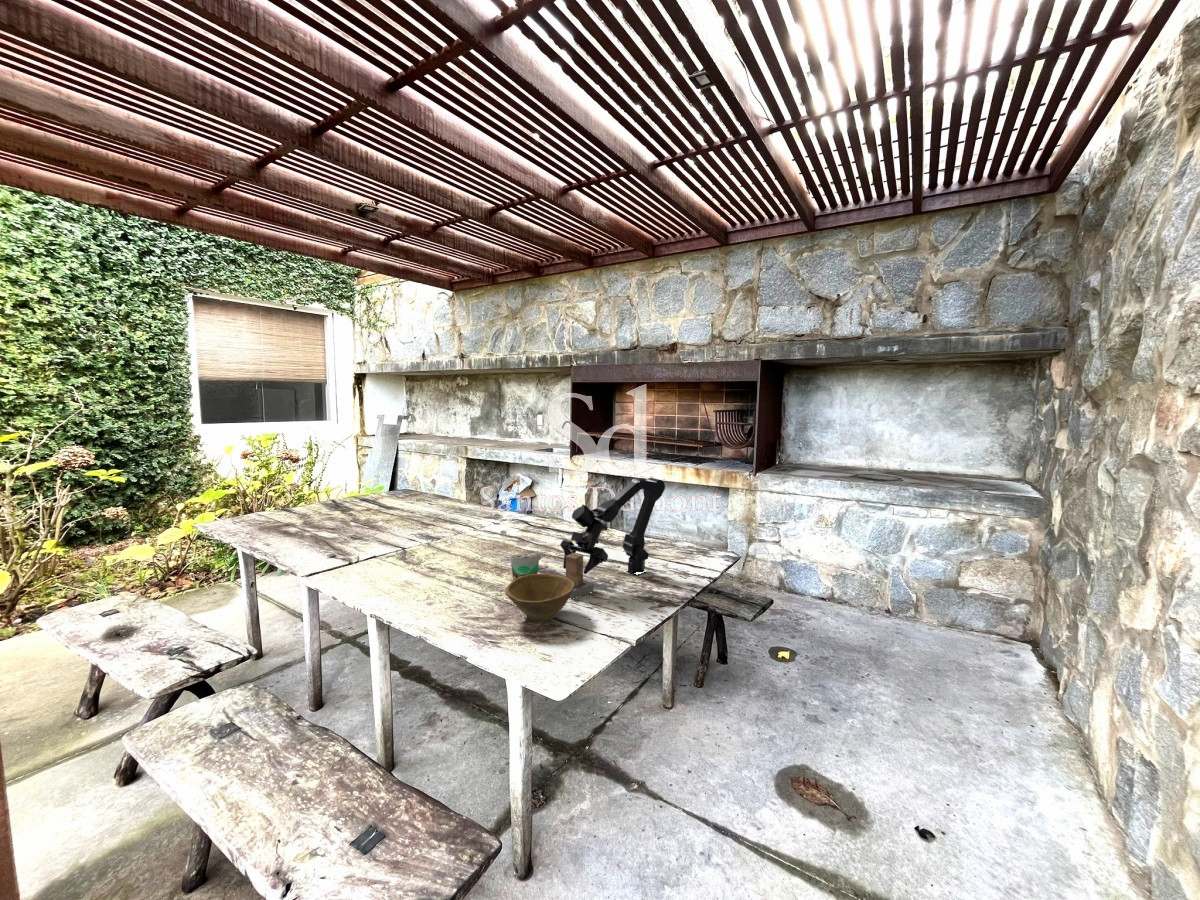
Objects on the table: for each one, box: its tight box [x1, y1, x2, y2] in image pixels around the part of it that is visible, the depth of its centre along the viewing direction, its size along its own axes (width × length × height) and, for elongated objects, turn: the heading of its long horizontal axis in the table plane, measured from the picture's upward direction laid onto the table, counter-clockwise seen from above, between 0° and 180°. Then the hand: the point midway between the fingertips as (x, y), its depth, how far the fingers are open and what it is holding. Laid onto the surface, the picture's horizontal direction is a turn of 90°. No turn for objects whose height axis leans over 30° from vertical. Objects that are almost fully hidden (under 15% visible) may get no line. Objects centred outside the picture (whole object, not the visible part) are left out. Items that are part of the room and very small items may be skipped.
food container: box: [508, 552, 542, 581], centre depth 189 cm, size 12×6×10 cm, turn 105°
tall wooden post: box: [565, 552, 584, 588], centre depth 179 cm, size 4×4×13 cm
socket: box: [569, 579, 595, 600], centre depth 180 cm, size 10×10×3 cm
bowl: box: [505, 572, 574, 623], centre depth 160 cm, size 22×23×10 cm
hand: (574, 571), depth 179 cm, fingers open, 9 cm apart
